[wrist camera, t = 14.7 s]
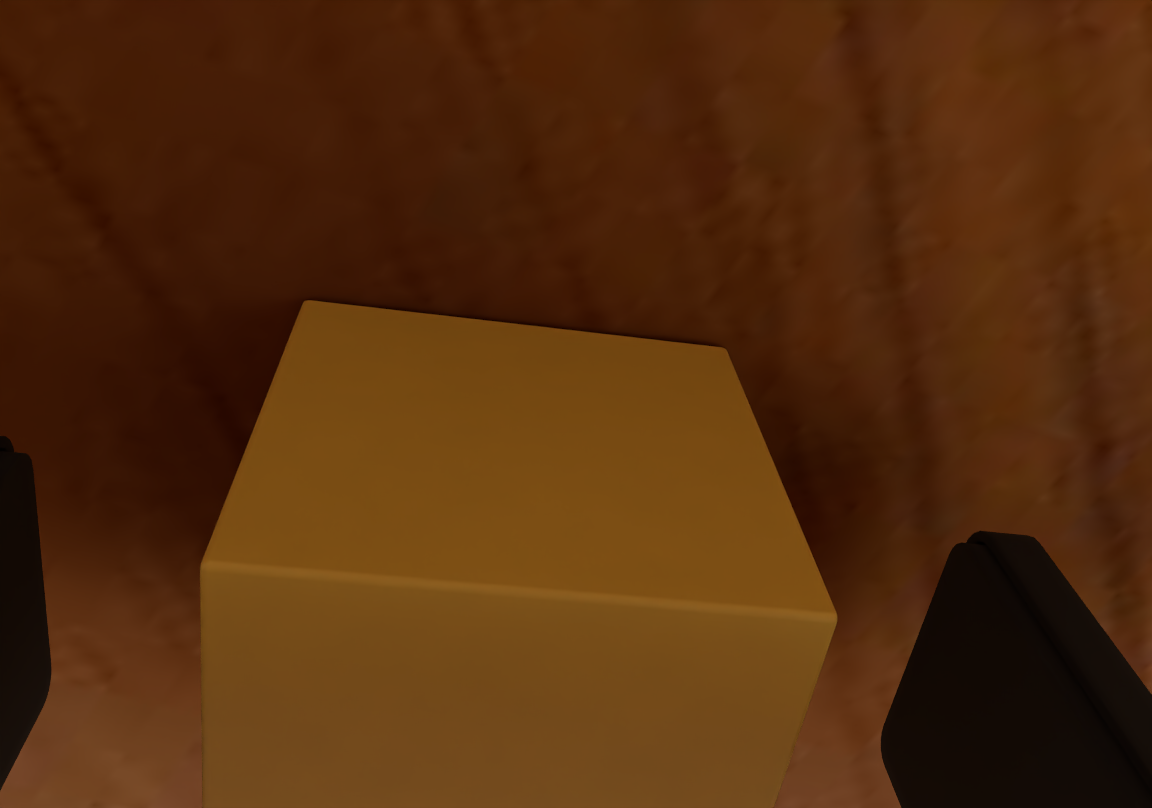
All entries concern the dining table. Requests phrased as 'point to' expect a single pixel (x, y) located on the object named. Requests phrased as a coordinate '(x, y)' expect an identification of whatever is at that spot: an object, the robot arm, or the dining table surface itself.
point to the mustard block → (503, 577)
